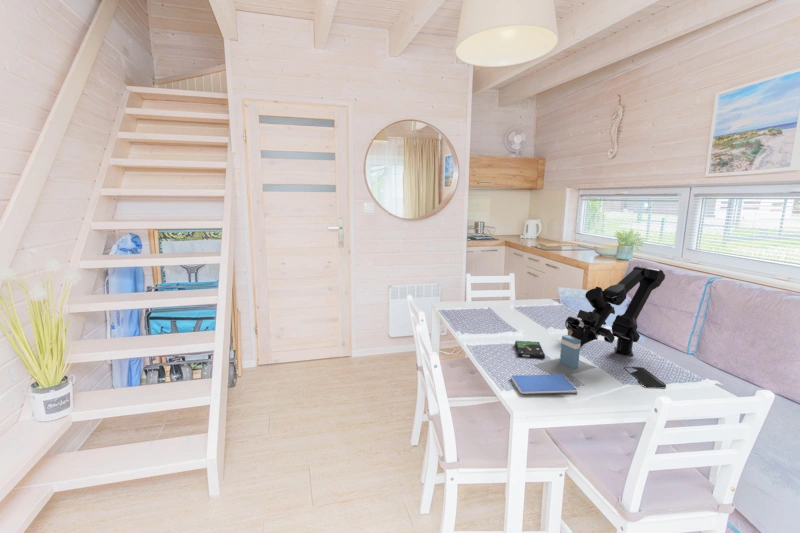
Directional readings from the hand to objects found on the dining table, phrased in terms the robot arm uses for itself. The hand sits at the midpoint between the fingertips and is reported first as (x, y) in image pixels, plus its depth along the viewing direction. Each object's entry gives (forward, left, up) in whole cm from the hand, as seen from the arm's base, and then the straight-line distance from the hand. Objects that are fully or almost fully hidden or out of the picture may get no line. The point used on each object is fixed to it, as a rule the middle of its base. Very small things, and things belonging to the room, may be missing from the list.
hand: (577, 345), depth 152 cm
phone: (+2, +23, -8) cm, 24 cm away
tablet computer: (+25, -10, -8) cm, 28 cm away
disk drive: (-5, -18, -8) cm, 21 cm away
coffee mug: (-26, 0, -8) cm, 27 cm away
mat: (+5, -4, -8) cm, 10 cm away
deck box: (+3, -2, -7) cm, 8 cm away
